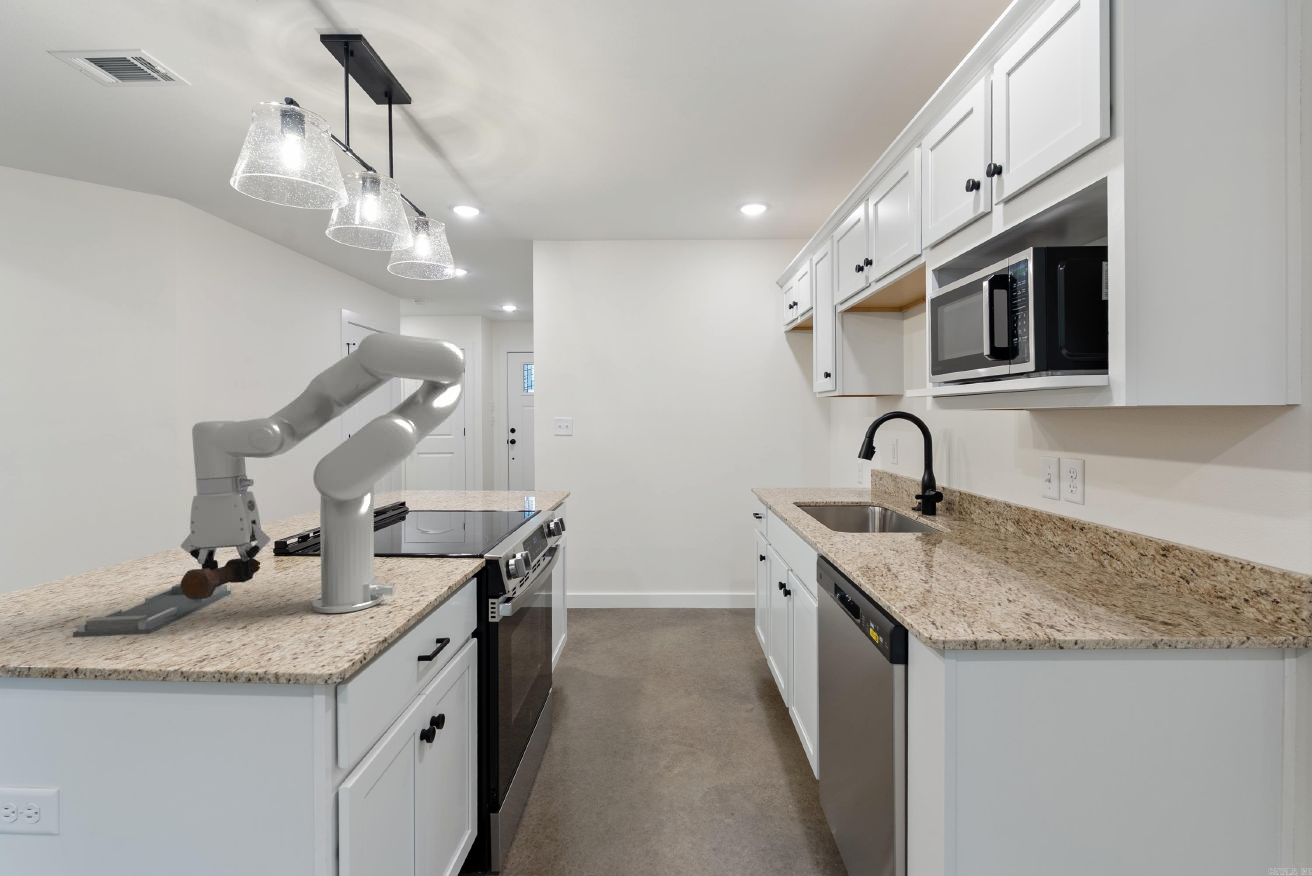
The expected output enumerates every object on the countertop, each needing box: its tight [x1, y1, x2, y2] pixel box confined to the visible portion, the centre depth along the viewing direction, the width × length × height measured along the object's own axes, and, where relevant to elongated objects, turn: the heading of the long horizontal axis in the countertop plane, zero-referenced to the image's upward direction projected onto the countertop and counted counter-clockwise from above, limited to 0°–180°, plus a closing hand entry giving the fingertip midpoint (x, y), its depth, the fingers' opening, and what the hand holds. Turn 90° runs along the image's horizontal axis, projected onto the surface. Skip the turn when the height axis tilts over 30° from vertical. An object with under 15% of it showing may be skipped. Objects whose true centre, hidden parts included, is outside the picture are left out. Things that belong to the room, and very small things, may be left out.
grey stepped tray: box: [72, 589, 232, 638], centre depth 109 cm, size 12×23×1 cm, turn 8°
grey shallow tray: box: [77, 583, 228, 632], centre depth 109 cm, size 10×23×2 cm, turn 8°
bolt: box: [179, 557, 261, 600], centre depth 106 cm, size 6×5×15 cm
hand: (229, 580), depth 106 cm, fingers closed on bolt, 5 cm apart
